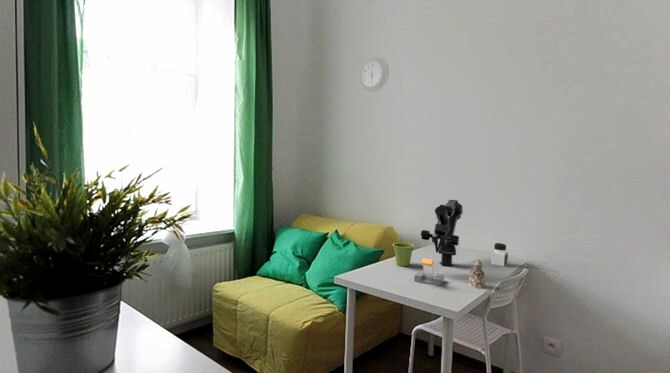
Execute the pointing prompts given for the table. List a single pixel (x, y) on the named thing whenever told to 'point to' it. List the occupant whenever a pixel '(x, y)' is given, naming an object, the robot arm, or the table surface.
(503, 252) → the medicine bottle
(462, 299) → the table surface
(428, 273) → the switch lever
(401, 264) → the plant pot
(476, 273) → the figurine
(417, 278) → the switch housing
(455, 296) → the table surface
